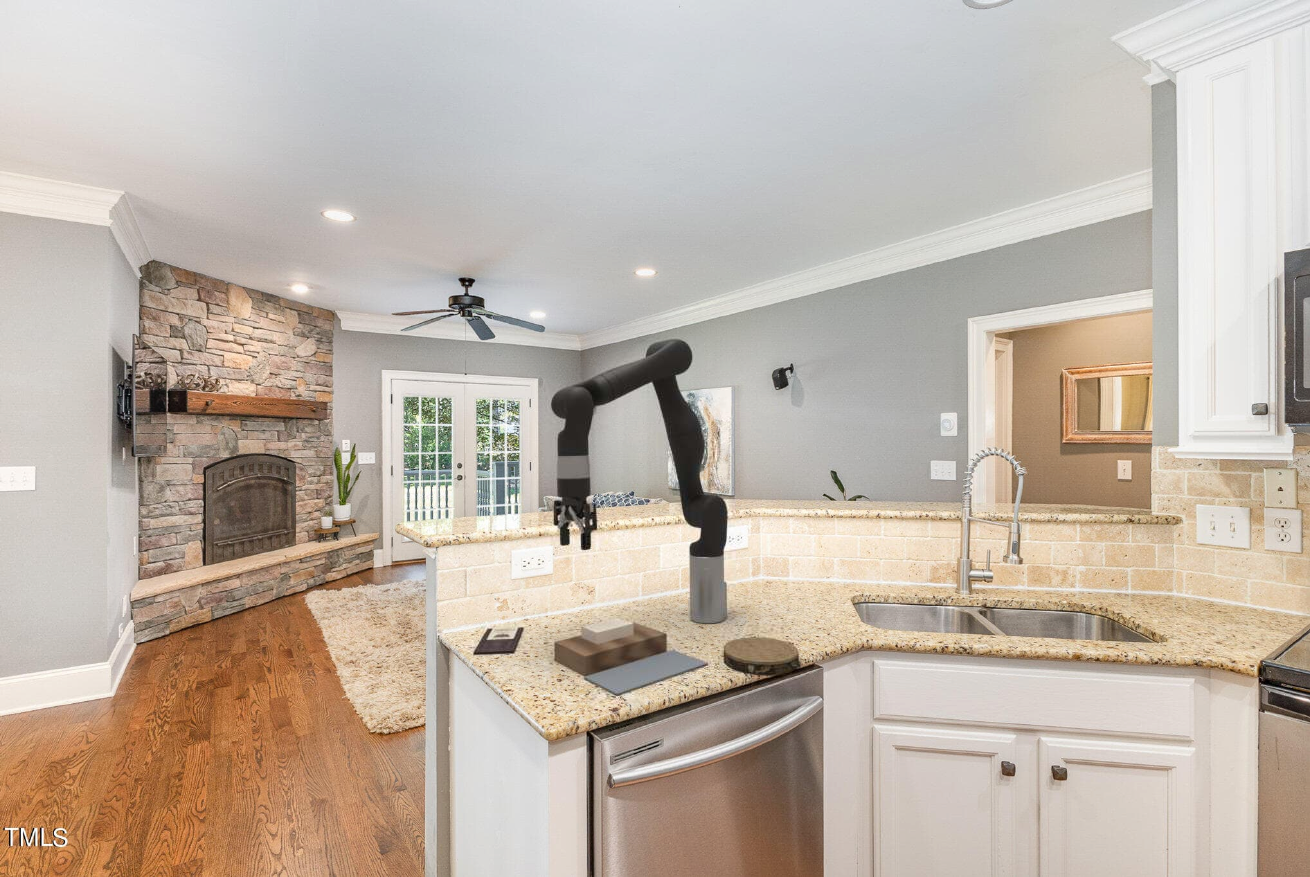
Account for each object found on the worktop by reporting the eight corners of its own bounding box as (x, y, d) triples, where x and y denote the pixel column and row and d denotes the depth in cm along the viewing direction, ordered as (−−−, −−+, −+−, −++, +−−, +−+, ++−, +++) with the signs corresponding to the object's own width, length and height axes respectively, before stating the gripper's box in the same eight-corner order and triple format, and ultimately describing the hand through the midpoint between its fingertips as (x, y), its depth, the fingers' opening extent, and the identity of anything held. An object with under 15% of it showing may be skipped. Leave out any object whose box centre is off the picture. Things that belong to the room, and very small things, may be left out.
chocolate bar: (473, 652, 136) (487, 628, 154) (473, 656, 136) (487, 632, 154) (514, 651, 137) (523, 627, 155) (514, 655, 137) (523, 631, 155)
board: (633, 638, 146) (633, 622, 146) (666, 651, 137) (666, 633, 137) (554, 660, 132) (554, 641, 132) (585, 676, 123) (585, 656, 123)
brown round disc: (814, 664, 129) (813, 650, 129) (765, 683, 119) (765, 668, 119) (756, 645, 142) (756, 632, 142) (708, 661, 132) (708, 647, 132)
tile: (617, 628, 141) (617, 617, 141) (633, 634, 137) (633, 623, 137) (581, 637, 135) (581, 626, 135) (596, 644, 130) (596, 632, 130)
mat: (673, 651, 137) (673, 649, 137) (707, 664, 129) (707, 663, 129) (583, 678, 121) (583, 676, 121) (616, 695, 113) (616, 693, 113)
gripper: (605, 476, 135) (607, 549, 135) (570, 474, 145) (571, 541, 145) (577, 478, 130) (578, 553, 130) (542, 475, 140) (544, 545, 140)
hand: (575, 547), depth 137 cm, fingers open, 8 cm apart
